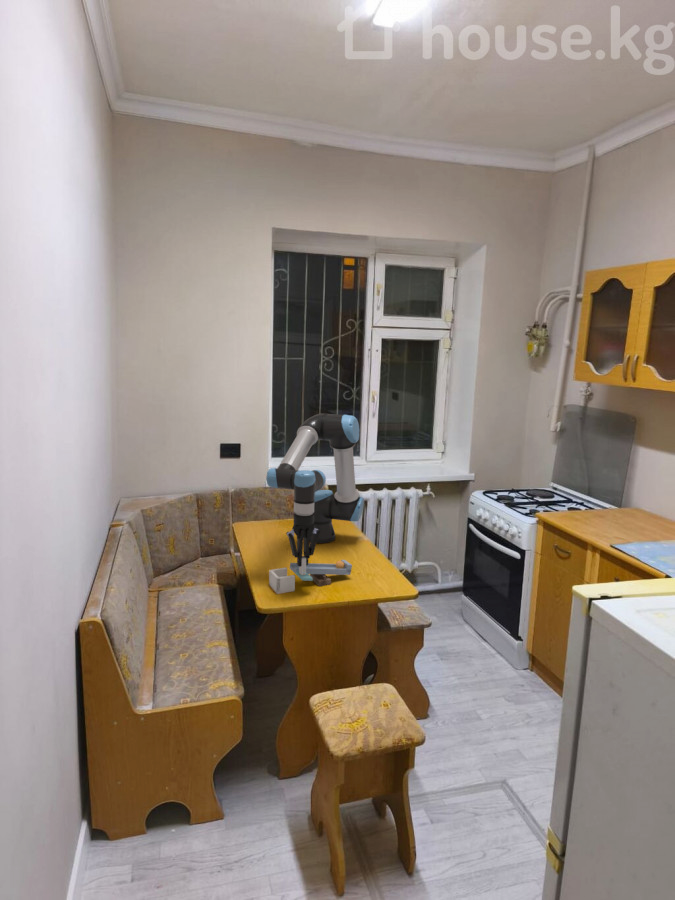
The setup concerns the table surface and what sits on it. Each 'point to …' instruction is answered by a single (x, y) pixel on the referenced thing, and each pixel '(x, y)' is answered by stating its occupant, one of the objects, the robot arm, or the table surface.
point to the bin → (281, 581)
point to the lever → (321, 569)
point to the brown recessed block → (321, 579)
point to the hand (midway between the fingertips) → (302, 573)
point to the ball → (339, 565)
